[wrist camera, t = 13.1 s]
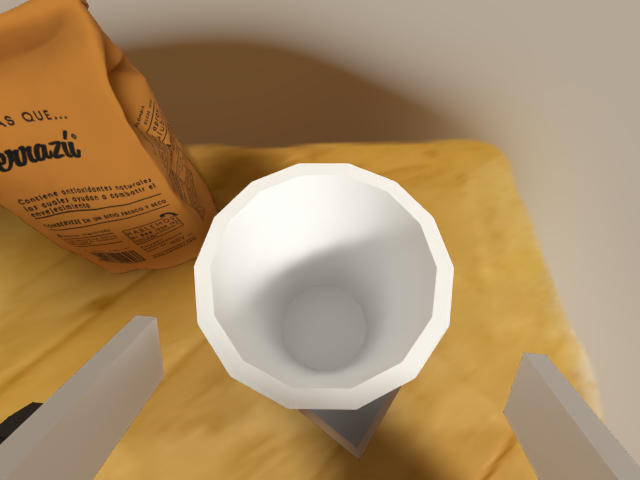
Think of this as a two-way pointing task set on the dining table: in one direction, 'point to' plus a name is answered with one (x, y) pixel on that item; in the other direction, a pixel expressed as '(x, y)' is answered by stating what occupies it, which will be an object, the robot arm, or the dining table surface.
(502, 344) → the dining table surface
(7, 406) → the dining table surface
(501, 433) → the dining table surface
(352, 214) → the foam cup
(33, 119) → the coffee package
